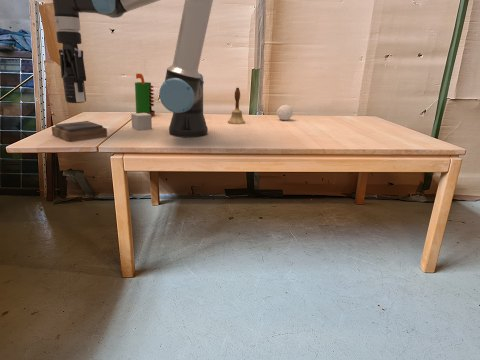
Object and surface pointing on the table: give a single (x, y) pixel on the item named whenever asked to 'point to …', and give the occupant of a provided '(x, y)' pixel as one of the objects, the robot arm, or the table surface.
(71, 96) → the supplement bottle
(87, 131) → the walnut plinth
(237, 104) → the hand bell
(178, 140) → the table surface
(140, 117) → the grey cube
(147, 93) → the green spray bottle
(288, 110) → the whitish grey ball
